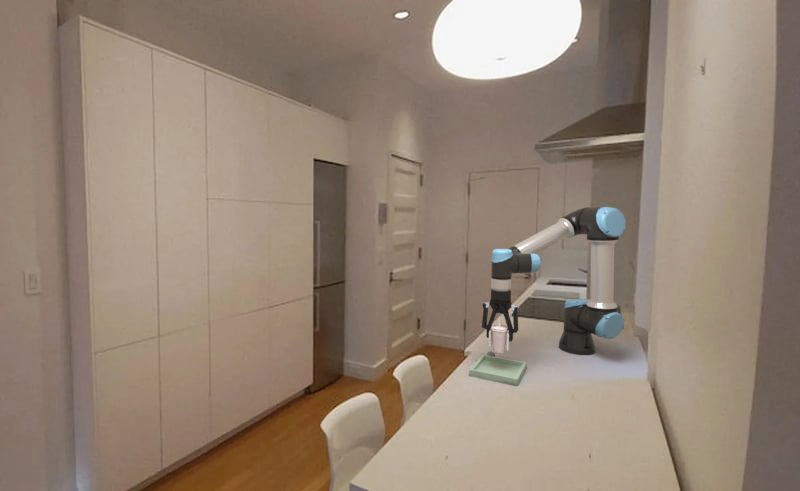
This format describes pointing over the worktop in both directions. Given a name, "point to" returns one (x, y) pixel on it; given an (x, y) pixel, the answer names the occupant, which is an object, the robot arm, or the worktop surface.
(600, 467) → the worktop surface
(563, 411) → the worktop surface
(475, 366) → the tray
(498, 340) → the smoothie
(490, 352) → the gray ball
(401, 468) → the worktop surface
